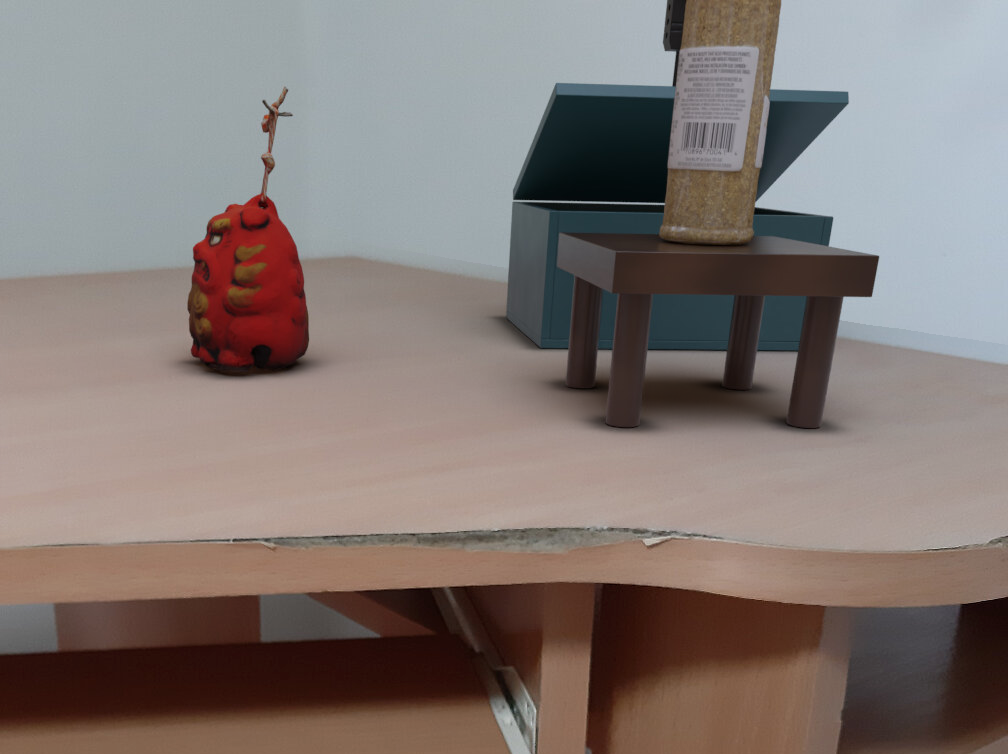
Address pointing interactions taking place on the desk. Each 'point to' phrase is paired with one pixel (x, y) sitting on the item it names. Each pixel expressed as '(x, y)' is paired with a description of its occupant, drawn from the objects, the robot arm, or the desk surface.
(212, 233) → the red clay folk toy
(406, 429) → the desk surface
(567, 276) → the chest
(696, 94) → the tan spice jar
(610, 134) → the chest lid
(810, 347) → the stool
